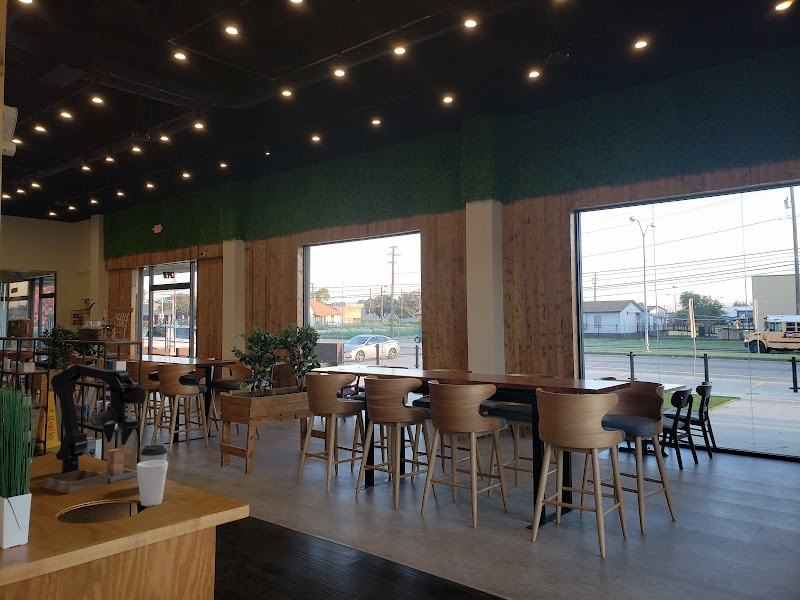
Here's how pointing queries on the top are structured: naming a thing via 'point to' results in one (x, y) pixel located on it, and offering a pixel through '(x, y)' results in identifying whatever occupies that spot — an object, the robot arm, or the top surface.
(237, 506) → the top surface
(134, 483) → the top surface
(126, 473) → the grey rectangular bin
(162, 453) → the coffee cup
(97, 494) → the top surface
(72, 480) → the brown square tray
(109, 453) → the terracotta peg
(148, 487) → the foam cup
